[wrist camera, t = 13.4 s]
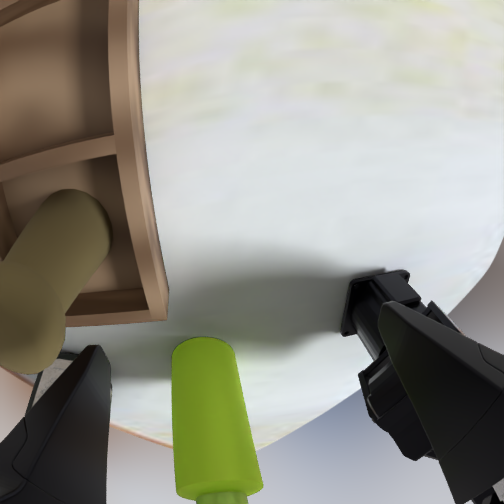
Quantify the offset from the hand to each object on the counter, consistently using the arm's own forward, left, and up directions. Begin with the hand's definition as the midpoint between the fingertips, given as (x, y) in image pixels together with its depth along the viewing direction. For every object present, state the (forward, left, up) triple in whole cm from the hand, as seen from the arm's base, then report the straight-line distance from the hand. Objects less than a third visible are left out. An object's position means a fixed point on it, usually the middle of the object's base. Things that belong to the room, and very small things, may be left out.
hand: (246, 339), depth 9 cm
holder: (+5, +10, -13) cm, 17 cm away
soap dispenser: (-15, +2, -13) cm, 20 cm away
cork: (-1, +10, -12) cm, 16 cm away
